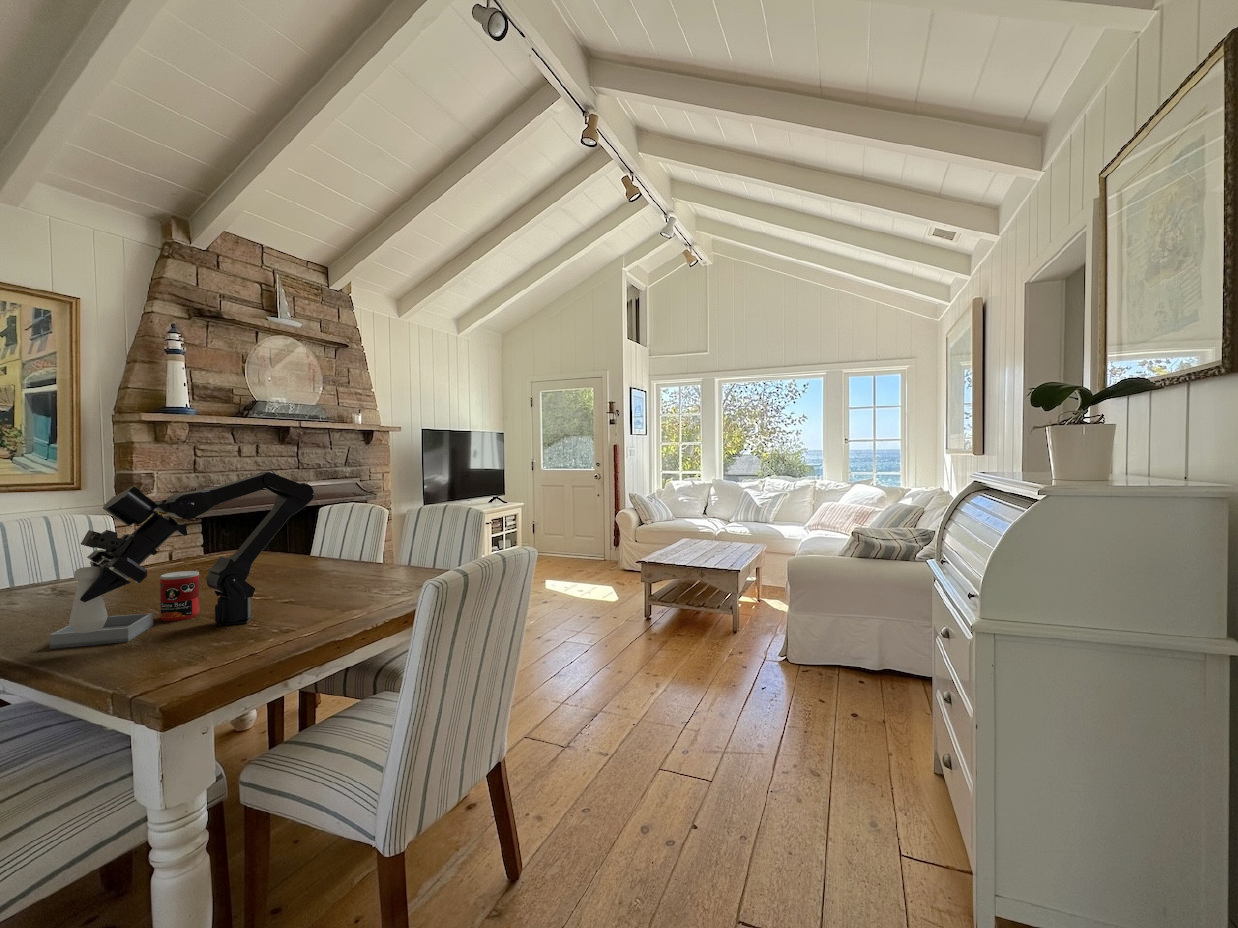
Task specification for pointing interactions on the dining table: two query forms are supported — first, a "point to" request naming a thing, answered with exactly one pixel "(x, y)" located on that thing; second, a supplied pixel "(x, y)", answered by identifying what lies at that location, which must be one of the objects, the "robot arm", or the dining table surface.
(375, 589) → the dining table surface
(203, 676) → the dining table surface
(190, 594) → the canned food
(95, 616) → the salt shaker
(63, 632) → the tray
